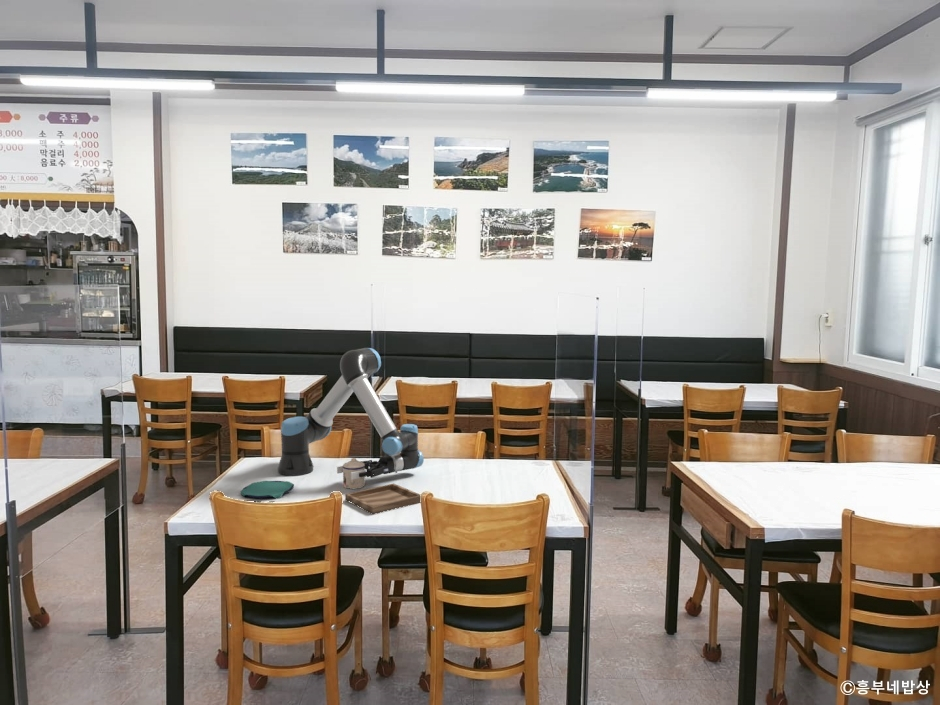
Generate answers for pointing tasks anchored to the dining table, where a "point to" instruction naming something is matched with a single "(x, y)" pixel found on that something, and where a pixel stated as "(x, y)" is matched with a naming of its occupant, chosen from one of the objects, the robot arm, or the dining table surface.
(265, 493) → the green cloth
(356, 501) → the walnut tray
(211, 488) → the dining table surface
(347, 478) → the teacup with lid
